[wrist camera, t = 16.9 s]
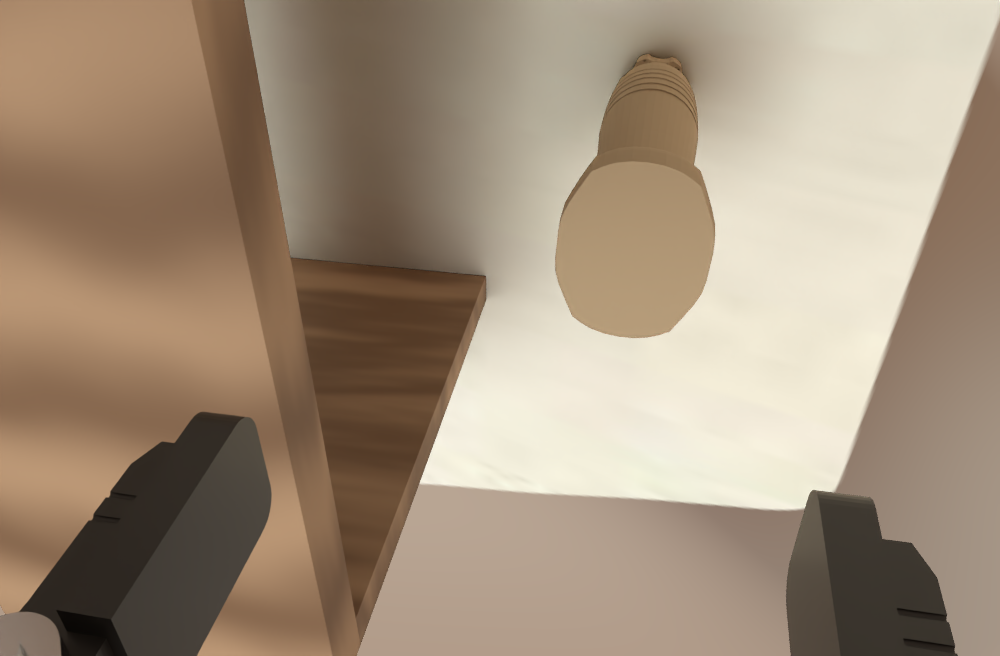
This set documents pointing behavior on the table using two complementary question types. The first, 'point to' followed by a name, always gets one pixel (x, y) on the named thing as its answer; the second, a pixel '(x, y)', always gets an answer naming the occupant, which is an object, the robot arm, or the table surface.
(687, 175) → the handle
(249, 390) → the shelf
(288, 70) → the table surface
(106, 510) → the robot arm
